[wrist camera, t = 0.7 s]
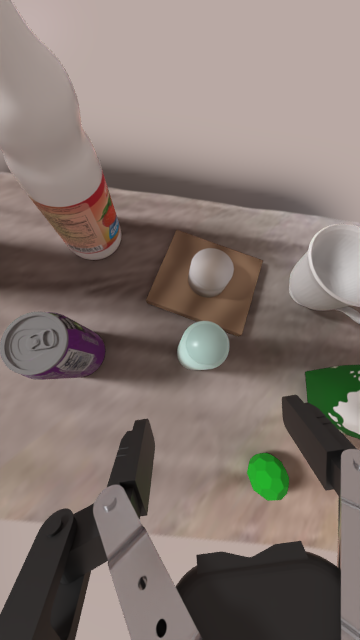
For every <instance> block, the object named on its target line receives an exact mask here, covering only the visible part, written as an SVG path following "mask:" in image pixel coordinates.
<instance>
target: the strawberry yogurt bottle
mask: <svg viewBox="0 0 360 640" xmlns="http://www.w3.org/2000/svg"><path fill="white" fill-rule="evenodd" d="M0 150H1V151H2V152H3V154H4V158H5V161H6V163H7V166H8V168H9V169H10V171H11V173H12V174H13V176H14V177H15V179H16V180H17V182H18V183H19V185H20V186H21V187H22V189H23V190H24V191H25V192H26V194H27V195H28V196H29V197H30V199H31V200H32V201H33V202H34V204H35V205H36V206H37V207H38V209H39V210H40V211H41V213H42V214H43V215H44V216H45V218H46V219H47V220H48V222H49V223H50V224H51V225H52V227H53V228H54V229H55V230H56V232H57V233H58V234H59V236H60V237H61V238H62V239H63V241H64V242H65V243H66V244H67V246H68V247H69V248H70V249H71V250H72V251H73V252H74V253H75V254H76V255H78V256H80V257H82V258H84V259H89V260H99V259H103V258H106V257H108V256H109V255H111V254H112V253H114V252H115V250H116V249H117V248H118V246H119V244H120V241H121V228H120V225H119V222H118V219H117V215H116V212H115V209H114V206H113V203H112V200H111V197H110V194H109V190H108V187H107V184H106V181H105V178H104V175H103V172H102V168H101V165H100V162H99V159H98V157H97V154H96V151H95V149H94V146H93V144H92V142H91V140H90V138H89V137H88V135H87V134H86V133H85V131H84V130H83V128H82V126H81V117H80V109H79V103H78V99H77V96H76V93H75V90H74V88H73V85H72V82H71V80H70V78H69V76H68V74H67V72H66V70H65V69H64V67H63V65H62V64H61V62H60V61H59V60H58V58H57V57H56V56H55V55H54V54H53V53H52V51H51V50H50V49H49V48H48V47H47V46H46V45H45V44H44V43H43V42H42V41H41V40H40V39H39V38H38V37H37V36H36V35H35V34H34V33H33V31H32V30H31V29H30V28H29V27H28V25H27V23H26V22H25V21H24V19H23V17H22V16H21V15H20V13H19V11H18V10H17V8H16V6H15V5H14V3H13V1H12V0H0Z"/></svg>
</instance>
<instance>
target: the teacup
mask: <svg viewBox="0 0 360 640" xmlns="http://www.w3.org/2000/svg"><path fill="white" fill-rule="evenodd" d="M289 284H290V286H289V292H290V295H291V297H292V299H293V300H294V301H295V302H296V303H298V304H299V305H302V306H305V307H307V308H310V309H313V310H318V311H325V310H333V309H334V310H337V311H340V312H343V313H344V314H346V315H347V316H349V317H350V318H351V319H352V320H353V321H355V322H356V323H358V324H360V313H359V312H358V311H356V310H354V309H353V308H351V307H348V306H351V305H352V306H358V307H360V227H359V226H355V225H350V224H335V225H330V226H328V227H325V228H323V229H322V230H320V231H319V232H318V233H317V234H316V235H315V236H314V237H313V239H312V240H311V243H310V245H309V250H308V251H307V252H306V253H305V254H304V256H303V257H302V258H301V259H300V260H299V261H298V262H297V264H296V265H295V267H294V268H293V270H292V272H291V274H290V279H289Z"/></svg>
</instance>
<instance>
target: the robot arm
mask: <svg viewBox="0 0 360 640" xmlns="http://www.w3.org/2000/svg"><path fill="white" fill-rule="evenodd" d="M282 413H283V421H284V425H285V427H286V429H287V431H288V432H289V434H290V435H291V437H292V439H293V440H294V442H295V443H296V445H297V446H298V448H299V450H300V451H301V453H302V454H303V456H304V457H305V459H306V460H307V462H308V464H309V465H310V467H311V468H312V470H313V471H314V473H315V475H316V476H317V478H318V479H319V481H320V482H321V484H322V486H323V487H324V489H325V490H332V489H334V490H335V491H336V493H337V494H338V496H339V504H338V557H337V566H335V565H334V564H332V563H331V562H329V561H328V560H326V559H324V558H322V557H320V556H318V555H315V554H313V553H310V552H306V551H305V549H304V547H303V545H302V542H301V541H296V542H289V543H281V544H275V545H273V546H271V547H269V548H268V549H266V550H264V551H262V552H260V553H259V554H257V555H255V556H253V557H250V558H249V557H244V556H239V555H234V554H230V553H226V552H215V553H208V554H201V555H197V566H195V567H194V568H192V569H191V570H190V571H188V572H187V573H186V574H185V575H184V576H183V578H181V580H180V581H179V583H178V584H177V585H176V587H175V585H174V583H173V581H172V579H171V578H170V575H169V574H168V572H167V570H166V568H165V566H164V564H163V562H162V560H161V558H160V556H159V554H158V552H157V550H156V548H155V546H154V544H153V542H152V541H151V539H150V537H149V535H148V533H147V531H146V529H145V527H143V526H142V524H141V522H140V516H146V515H147V512H148V503H149V495H150V486H151V477H152V469H153V460H154V452H155V442H154V437H153V433H152V430H151V426H150V423H149V420H148V419H142V420H136V421H135V423H134V426H133V430H132V431H127V432H126V434H125V435H124V437H123V438H122V439H121V443H120V446H119V450H118V452H117V457H116V459H115V462H114V466H113V469H112V472H111V475H110V479H109V482H108V485H107V488H106V489H104V490H103V491H102V492H101V493H100V494H99V496H98V497H97V499H96V501H95V503H94V504H92V505H90V506H89V507H87V508H85V509H83V510H81V511H79V512H77V513H75V514H73V513H72V511H71V510H70V509H61V510H59V511H57V512H55V513H54V514H52V515H51V516H50V517H49V518H48V519H47V520H46V521H45V522H44V524H43V525H42V527H41V528H40V530H39V532H38V534H37V536H36V539H35V540H34V543H33V545H32V547H31V549H30V551H29V553H28V556H27V558H26V560H25V562H24V564H23V566H22V569H21V571H20V573H19V575H18V577H17V579H16V582H15V584H14V586H13V588H12V590H11V593H10V595H9V597H8V599H7V601H6V603H5V605H4V608H3V610H2V612H1V614H0V640H75V637H76V632H77V628H78V624H79V620H80V616H81V611H82V607H83V603H84V599H85V594H86V590H87V586H88V581H89V577H90V573H91V570H93V569H94V568H96V567H97V566H100V565H101V564H103V563H105V562H106V561H108V566H109V570H110V573H111V576H112V579H113V583H114V586H115V589H116V592H117V595H118V599H119V602H120V605H121V608H122V611H123V615H124V618H125V621H126V624H127V627H128V631H129V634H130V637H131V640H360V450H357V449H356V448H355V447H354V446H353V445H352V444H351V442H350V441H349V440H348V439H347V438H346V437H345V436H344V435H343V434H342V433H341V432H340V431H339V430H338V429H337V428H336V426H335V425H334V424H332V422H331V421H330V420H329V419H328V418H326V416H325V415H324V414H323V413H322V412H321V410H320V409H319V408H317V407H315V406H314V405H312V404H310V403H303V401H302V400H301V399H300V398H299V397H298V396H297V395H291V396H285V397H282Z"/></svg>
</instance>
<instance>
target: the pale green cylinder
mask: <svg viewBox="0 0 360 640" xmlns="http://www.w3.org/2000/svg"><path fill="white" fill-rule="evenodd" d="M228 353H229V339H228V337H227V334H226V333H225V331H224V330H223V329H222V328H221V327H220V326H219V325H217V324H215V323H213V322H210V321H199V322H196V323H194V324H192V325H190V326H189V327H188V328H187V329H186V331H185V332H184V334H183V336H182V339H181V341H180V343H179V345H178V348H177V357H178V360H179V362H180V363H181V365H182V366H184V367H185V368H187V369H189V370H206V369H213V368H216V367H218V366H219V365H221V364H222V363H223V362H224V361H225V359H226V358H227V356H228Z"/></svg>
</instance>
